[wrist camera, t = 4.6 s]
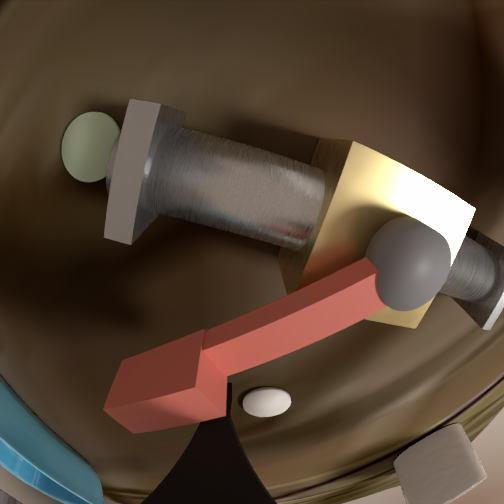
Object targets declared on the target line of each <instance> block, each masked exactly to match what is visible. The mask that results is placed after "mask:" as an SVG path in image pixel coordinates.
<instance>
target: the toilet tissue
mask: <svg viewBox="0 0 504 504" xmlns="http://www.w3.org/2000/svg"><path fill="white" fill-rule="evenodd" d="M393 465H394V468H395V471H396V473H397V476H398V480H399V482H400V486H401V489H402V491H403V495H404V497H405V500H406V504H448V503H450V502H452V501H453V500H455V499H457V498H458V497H460V496H462V495H463V494H465V493H466V492H468V491H469V490H471V489H472V488H474V487H475V486H477V485H478V484H479V483H481V482H482V481H483V480H484V479H486V478H487V475H486V473H485V471H484V469H483V467H482V464H481V462H480V460H479V458H478V456H477V454H476V452H475V450H474V448H473V446H472V444H471V442H470V440H469V439H468V437H467V435H466V433H465V431H464V429H463V427H462V426H461V424H459V423H457V424H452V425H449V426H447V427H444V428H442V429H440V430H438V431H436V432H434V433H432V434H431V435H429V436H427V437H425V438H424V439H422V440H421V441H419V442H417V443H416V444H414V445H413V446H411V447H409V448H408V449H407V450H406V451H404V452H403V453H402V454H400V455H399V456H398V458H397V459H396V460H395V461H394V463H393Z"/></svg>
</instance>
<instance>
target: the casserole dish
mask: <svg viewBox="0 0 504 504" xmlns="http://www.w3.org/2000/svg"><path fill="white" fill-rule="evenodd" d="M0 464H1V465H2V466H3V467H4V468H6V469H7V470H8V471H9V472H11V473H12V474H13V475H15V476H16V477H18V478H19V479H21V480H22V481H24V482H25V483H27V484H29V485H30V486H32V487H33V488H35V489H37V490H39V491H41V492H42V493H44V494H46V495H48V496H50V497H52V498H54V499H56V500H58V501H61V502H63V503H65V504H104V502H103V494H102V487H101V483H100V480H99V477H98V475H97V474H96V472H95V471H94V469H93V468H92V466H91V465H90V464H89V463H88V462H87V461H86V460H85V459H84V458H83V457H82V456H80V455H79V454H78V453H77V452H76V451H75V450H73V449H72V448H71V447H70V446H69V445H68V444H66V443H65V442H64V441H63V440H62V439H61V438H60V437H59V436H57V435H56V434H55V433H54V432H53V431H52V430H51V429H50V428H49V427H48V426H47V425H46V424H45V423H43V422H42V421H41V420H40V419H39V418H38V417H37V416H36V415H35V414H34V413H33V412H32V410H31V409H30V408H29V407H28V406H27V405H26V404H25V403H24V402H23V401H22V400H21V398H20V397H19V396H18V395H17V394H16V393H15V392H14V391H13V389H12V388H11V387H10V386H9V385H8V384H7V382H6V381H5V380H4V379H3V378H2V376H1V375H0Z"/></svg>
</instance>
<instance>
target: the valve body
mask: <svg viewBox="0 0 504 504" xmlns="http://www.w3.org/2000/svg"><path fill="white" fill-rule="evenodd" d="M185 116H186V113H184V112H182V111H179V110H176V109H174V108H171V107H168V106H165V105H162V104H158V103H153V102H147V101H140V100H134V99H130V101H129V104H128V108H127V111H126V115H125V119H124V123H123V127H122V129H121V131H120V133H119V134H118V136H117V138H116V140H115V142H114V145H113V147H112V150H111V153H110V157H109V161H108V166H107V174H106V188H107V193H108V196H109V199H108V206H107V214H106V223H105V232H104V238H108V239H111V240H115V241H118V242H122V243H125V244H129V245H132V244H133V243H134V241H135V240H136V239H137V238H138V237H139V236H140V235H141V234H142V233H143V231H144V230H145V229H146V228H147V227H148V226H149V225H150V224H151V223H152V222H153V221H154V220H155V219H156V217H157V216H158V215H159V214H160V213H161V214H165V215H169V216H172V217H176V218H180V219H184V220H187V221H191V222H195V223H199V224H202V225H206V226H210V227H213V228H217V229H221V230H224V231H228V232H232V233H235V234H239V235H243V236H246V237H250V238H254V239H257V240H261V241H264V242H268V243H272V244H275V245H279V246H281V247H280V250H279V253H278V255H277V259H278V263H279V266H280V270H281V274H282V277H283V281H284V284H285V288H286V292H287V295H289V294H291V293H293V292H295V291H298V290H300V289H302V288H304V287H306V286H308V285H310V284H312V283H315V282H317V281H319V280H321V279H323V278H325V277H327V276H329V275H331V274H333V273H335V272H337V271H339V270H341V269H343V268H345V267H347V266H349V265H351V264H353V263H355V262H357V261H359V260H361V259H363V258H365V253H366V250H367V247H368V245H369V243H370V241H371V239H372V238H373V236H374V235H375V233H376V232H377V231H378V230H379V229H380V228H381V227H382V226H383V225H385V224H386V223H387V222H389V221H391V220H393V219H395V218H399V217H404V216H408V217H414V218H417V219H419V220H420V221H422V222H424V223H425V224H427V225H428V226H430V227H432V228H433V229H435V230H437V231H438V232H440V233H441V234H442V235H443V236H444V237H445V238H446V239H447V241H448V243H449V246H450V249H451V266H450V270H449V274H448V276H447V279H446V281H445V283H444V284H443V286H442V288H441V289H440V290H439V292H440V293H443V294H446V295H450V296H451V297H452V298H453V299H454V300H455V301H456V302H457V303H458V304H459V305H460V306H461V307H462V308H463V309H464V310H465V311H466V312H467V313H468V314H469V316H470V317H471V318H472V319H473V320H474V321H475V322H476V323H477V324H478V325H479V326H480V327H481V328H482V329H485V330H490V329H491V327H492V326H493V324H494V323H495V321H496V319H497V318H498V316H499V314H500V313H501V311H502V309H503V307H504V247H503V246H502V245H500V244H499V243H497V242H495V241H494V240H492V239H491V238H489V237H487V236H485V235H484V234H482V233H480V232H478V234H477V237H476V239H475V241H474V240H472V239H471V238H469V237H467V236H465V234H466V231H467V229H468V227H469V224H470V222H471V219H472V216H473V214H474V211H475V208H473V207H472V206H470V205H469V204H467V203H466V202H464V201H463V200H461V199H460V198H458V197H457V196H455V195H454V194H452V193H450V192H449V191H447V190H446V189H444V188H442V187H441V186H439V185H437V184H436V183H434V182H432V181H431V180H429V179H427V178H426V177H424V176H422V175H420V174H419V173H417V172H415V171H413V170H411V169H409V168H408V167H406V166H404V165H402V164H400V163H398V162H396V161H394V160H392V159H390V158H388V157H386V156H384V155H382V154H380V153H378V152H376V151H374V150H372V149H370V148H368V147H366V146H364V145H361V144H359V143H357V142H355V141H350V140H339V139H327V138H319V140H318V143H317V146H316V149H315V152H314V155H313V158H312V161H311V163H310V165H308V164H306V163H303V162H300V161H297V160H294V159H291V158H288V157H285V156H282V155H279V154H276V153H273V152H270V151H267V150H263V149H260V148H257V147H253V146H250V145H247V144H243V143H240V142H236V141H233V140H229V139H225V138H222V137H218V136H214V135H210V134H206V133H202V132H198V131H194V130H189V129H185V128H182V126H183V123H184V119H185ZM434 297H435V296H434ZM434 297H433V298H432V299H431V300H430V301H429V302H427V303H426V304H424V305H423V306H421V307H419V308H417V309H414V310H411V311H396V310H393V309H391V308H390V307H388V306H387V307H385V308H384V309H382V310H380V311H378V312H376V313H374V314H372V315H370V316H368V317H366V318H364V319H366V320H371V321H377V322H382V323H387V324H393V325H398V326H404V327H410V328H416V327H417V325H418V324H419V322H420V321H421V319H422V317H423V316H424V314H425V312H426V311H427V309H428V307H429V306H430V304H431V302H432V300H433V299H434Z"/></svg>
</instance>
